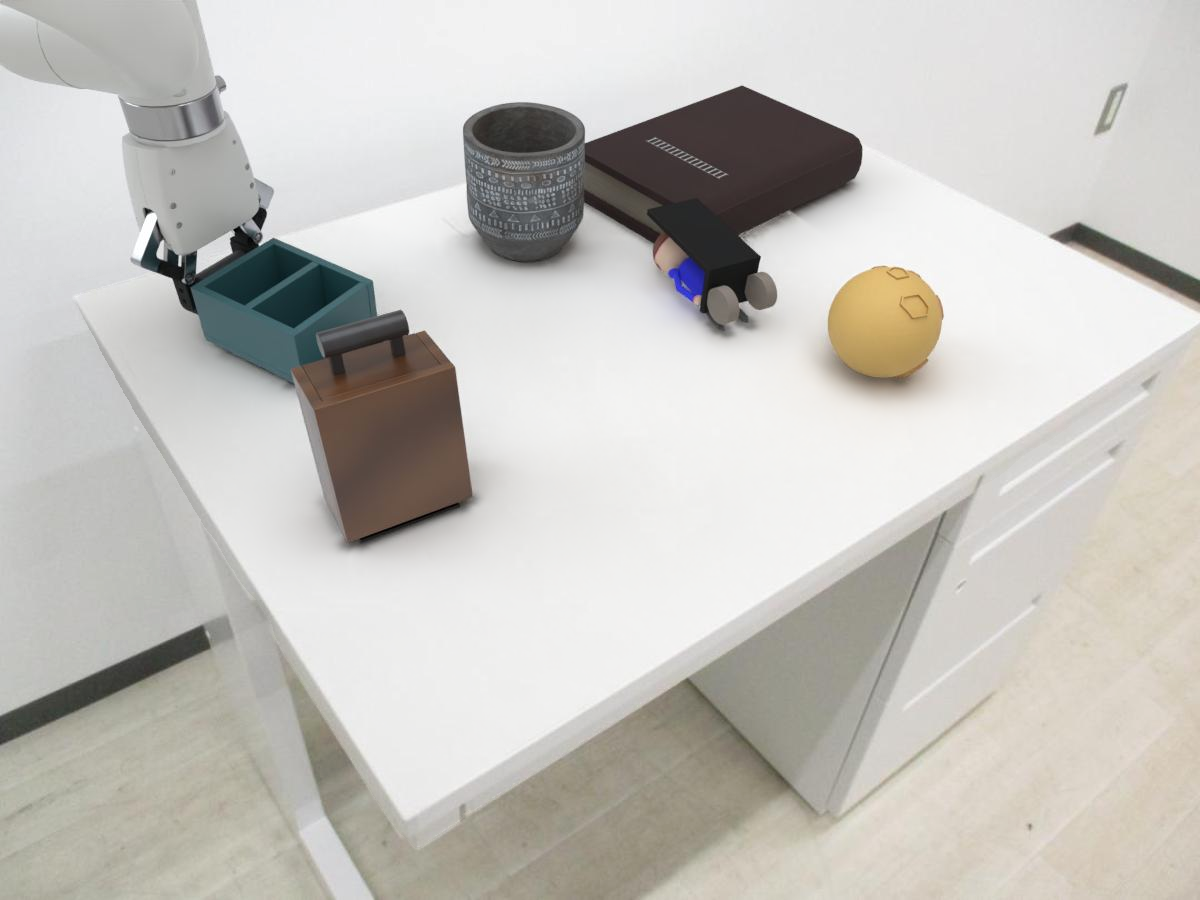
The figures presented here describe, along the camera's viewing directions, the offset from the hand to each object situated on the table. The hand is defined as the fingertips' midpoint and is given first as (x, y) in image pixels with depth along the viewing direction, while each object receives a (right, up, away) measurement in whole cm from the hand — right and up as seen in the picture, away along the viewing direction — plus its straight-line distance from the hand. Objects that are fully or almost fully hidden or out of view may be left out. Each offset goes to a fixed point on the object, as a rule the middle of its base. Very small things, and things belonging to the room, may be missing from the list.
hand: (226, 293), depth 90 cm
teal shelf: (+6, -4, -1) cm, 7 cm away
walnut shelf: (+21, -14, -23) cm, 34 cm away
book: (+49, +16, +22) cm, 56 cm away
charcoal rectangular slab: (+20, -19, -16) cm, 31 cm away
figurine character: (+46, 0, +6) cm, 46 cm away
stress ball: (+61, -7, -1) cm, 61 cm away
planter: (+27, +8, +13) cm, 31 cm away
